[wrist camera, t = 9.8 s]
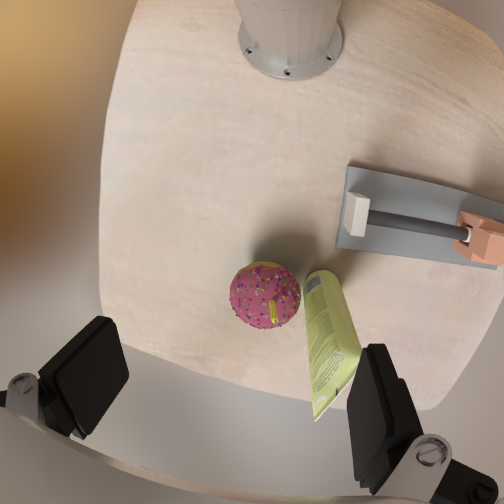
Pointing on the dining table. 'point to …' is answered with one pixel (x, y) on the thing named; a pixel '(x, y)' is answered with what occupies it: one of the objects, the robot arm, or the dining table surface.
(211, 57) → the dining table surface
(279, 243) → the dining table surface
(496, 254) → the sleeve
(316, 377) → the tube
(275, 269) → the cupcake
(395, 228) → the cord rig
